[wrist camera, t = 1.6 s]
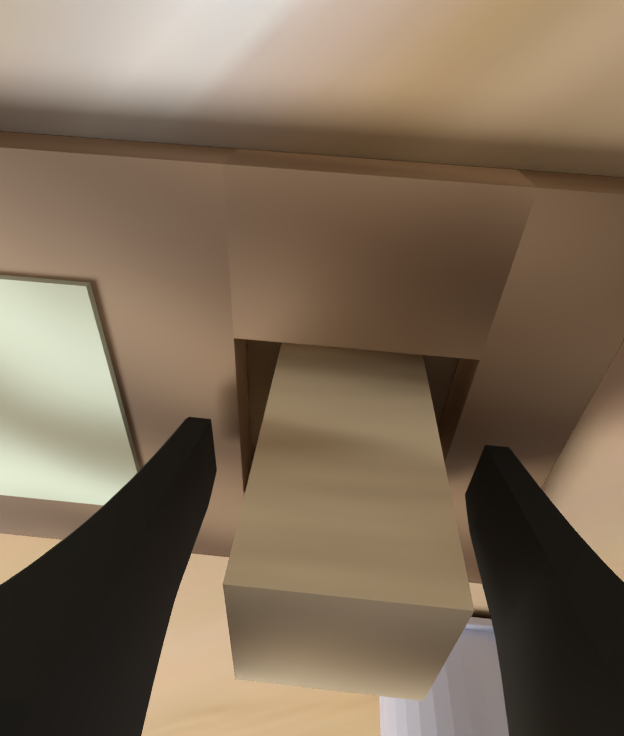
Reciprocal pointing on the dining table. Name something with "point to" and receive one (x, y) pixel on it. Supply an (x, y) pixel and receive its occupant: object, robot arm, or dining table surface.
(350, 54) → the dining table surface
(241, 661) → the maple block
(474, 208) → the pocket board
